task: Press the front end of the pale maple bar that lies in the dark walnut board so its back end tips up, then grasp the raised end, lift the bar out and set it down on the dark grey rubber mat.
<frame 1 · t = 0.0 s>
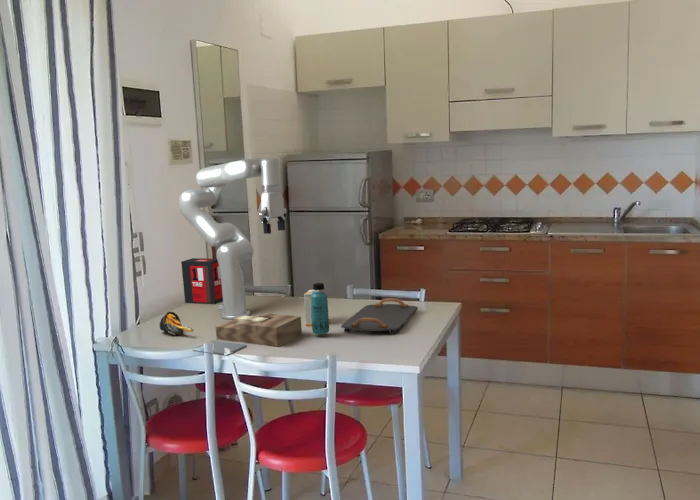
hand: (274, 231, 264), 37 cm above the table, tool pointing down, fingers open, 9 cm apart
maple bar: (252, 327, 248), point 3 cm above the table, touching walnut board
rubber mat: (219, 348, 235), on the table
beverage bottle: (321, 336, 244), on the table
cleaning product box: (205, 301, 312), on the table
supplement box: (314, 323, 262), on the table
serving board: (381, 323, 259), on the table
walnut board: (259, 336, 247), on the table
fried shrimp in bowl: (177, 335, 257), on the table
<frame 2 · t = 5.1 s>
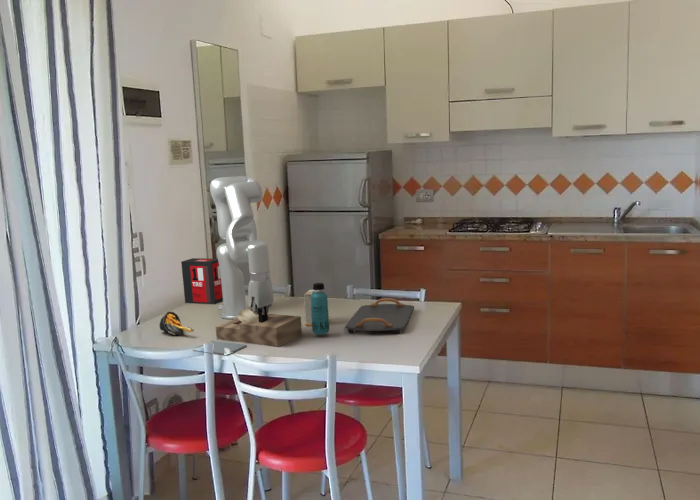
hand: (263, 324, 245), 5 cm above the table, tool pointing down, fingers closed
maple bar: (252, 326, 248), point 4 cm above the table, tilted 35°, touching walnut board
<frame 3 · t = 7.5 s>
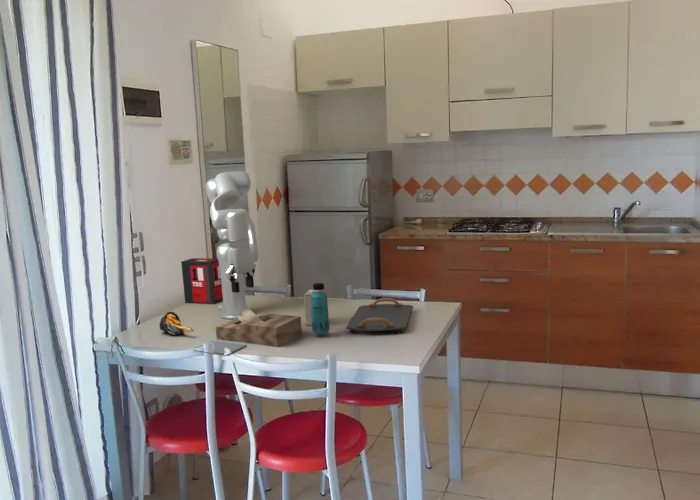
hand: (243, 289, 247), 18 cm above the table, tool pointing down, fingers open, 8 cm apart
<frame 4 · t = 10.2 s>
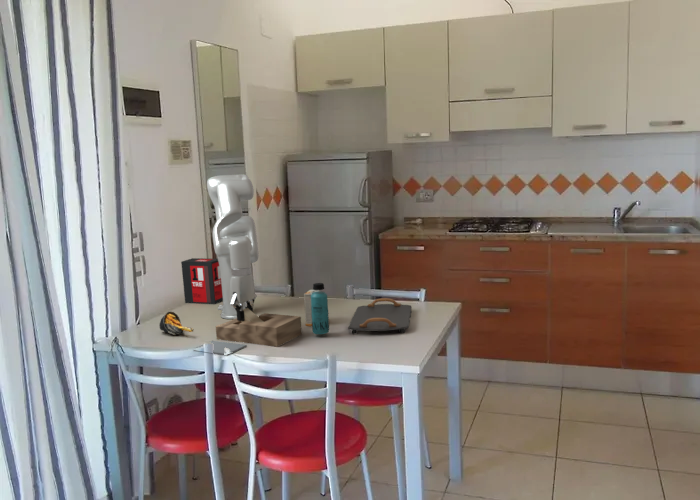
hand: (245, 318, 249), 7 cm above the table, tool pointing down, fingers closed on maple bar, 4 cm apart
maple bar: (252, 326, 248), point 4 cm above the table, tilted 35°, touching gripper, walnut board
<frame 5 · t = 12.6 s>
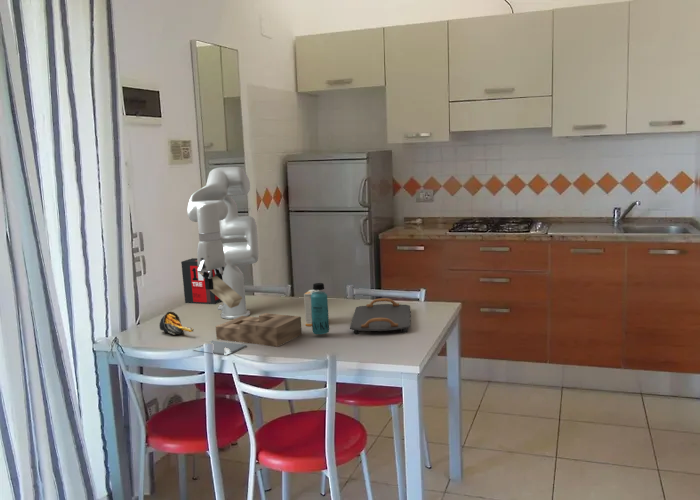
hand: (214, 287, 234), 22 cm above the table, tool pointing down, fingers closed on maple bar, 4 cm apart
maple bar: (221, 295, 233), point 19 cm above the table, tilted 35°, touching gripper
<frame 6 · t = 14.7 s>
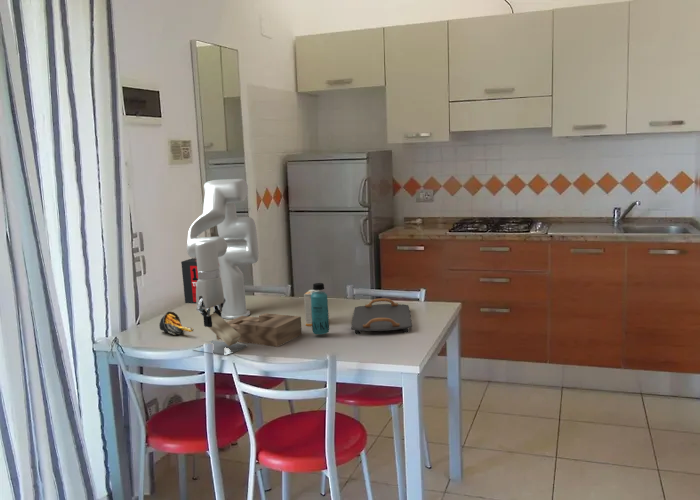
hand: (213, 324, 235), 9 cm above the table, tool pointing down, fingers closed on maple bar, 4 cm apart
maple bar: (220, 332, 234), point 6 cm above the table, tilted 35°, touching gripper
when the fingers open (8 cm above the table, at t = 15.2 s): maple bar drops 5 cm, resting on rubber mat.
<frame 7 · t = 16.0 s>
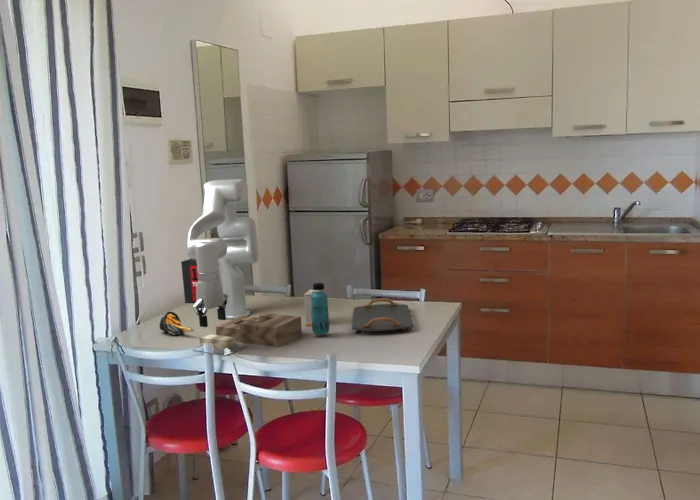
hand: (213, 323, 235), 9 cm above the table, tool pointing down, fingers open, 9 cm apart
maple bar: (218, 346, 235), point 1 cm above the table, touching rubber mat
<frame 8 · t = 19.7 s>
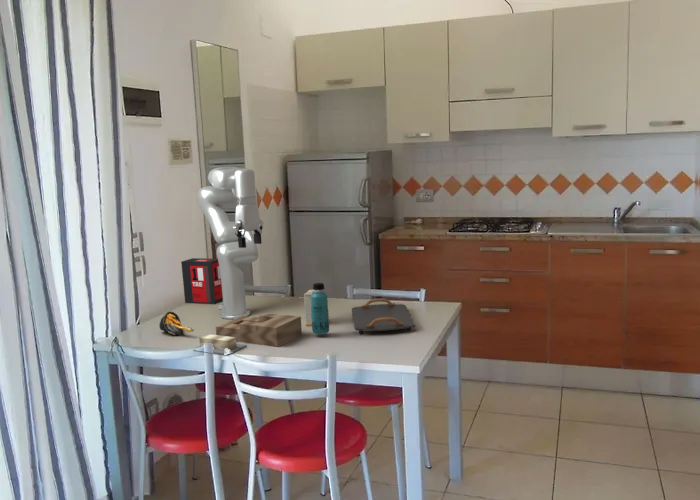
hand: (250, 245, 254), 33 cm above the table, tool pointing down, fingers open, 9 cm apart
at the end: maple bar inside the target area on the rubber mat (0.5 cm from its centre), point 0.6 cm above the rubber mat's base; maple bar touching rubber mat; the gripper is holding nothing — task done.
